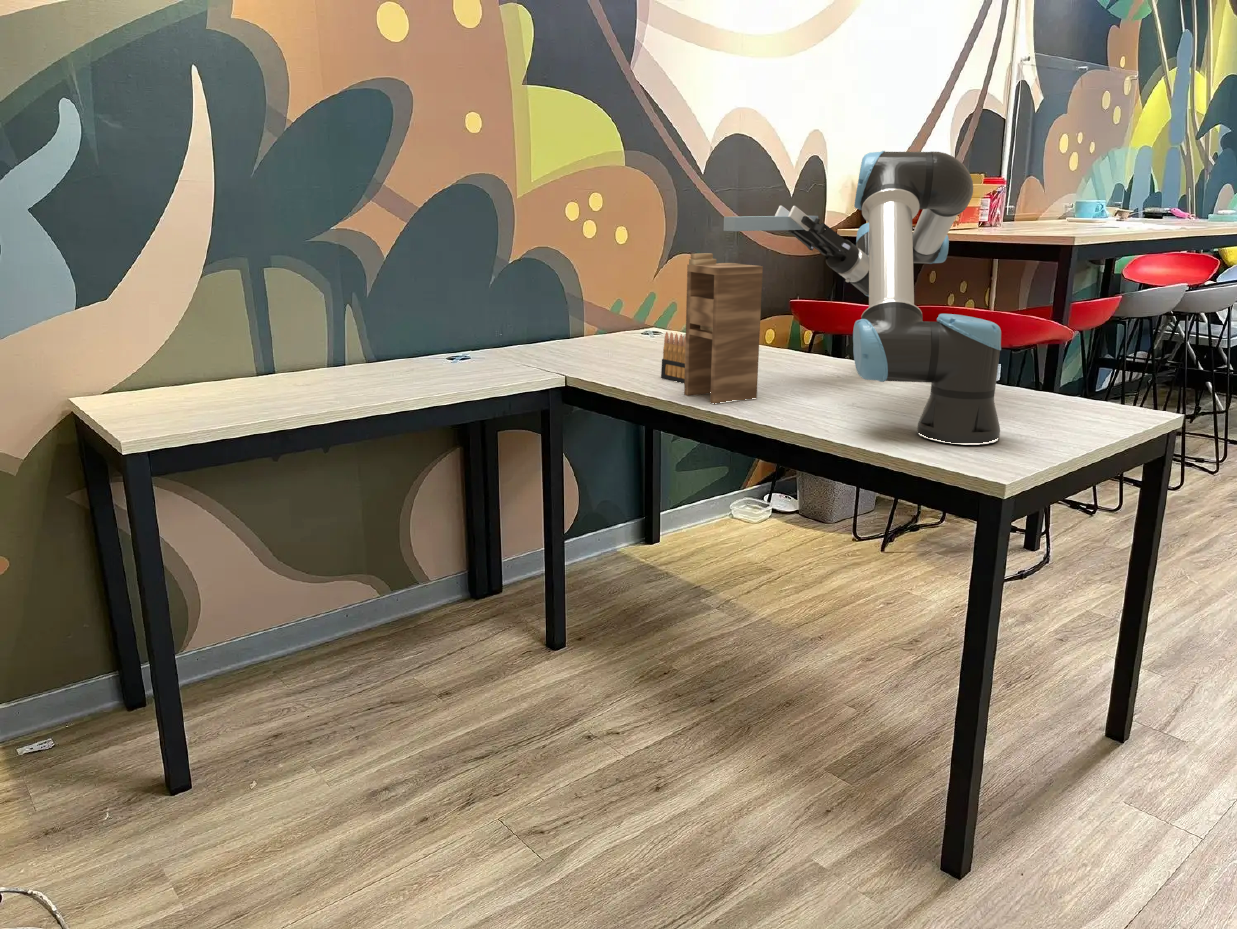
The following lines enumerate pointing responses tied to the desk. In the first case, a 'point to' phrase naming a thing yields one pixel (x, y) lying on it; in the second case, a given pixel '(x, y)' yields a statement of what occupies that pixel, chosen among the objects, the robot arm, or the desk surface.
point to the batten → (761, 223)
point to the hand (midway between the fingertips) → (785, 210)
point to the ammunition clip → (673, 358)
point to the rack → (722, 329)
